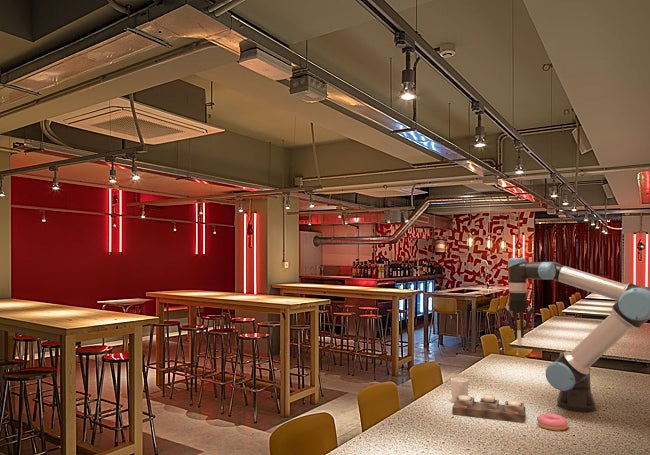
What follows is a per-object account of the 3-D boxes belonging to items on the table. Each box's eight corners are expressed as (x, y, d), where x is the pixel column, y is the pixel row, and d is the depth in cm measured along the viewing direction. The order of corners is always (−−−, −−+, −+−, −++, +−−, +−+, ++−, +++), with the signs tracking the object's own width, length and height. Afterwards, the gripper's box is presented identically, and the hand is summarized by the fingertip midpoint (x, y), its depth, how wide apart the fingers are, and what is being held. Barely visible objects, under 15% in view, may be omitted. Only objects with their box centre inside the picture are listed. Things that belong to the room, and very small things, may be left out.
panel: (525, 414, 202) (525, 402, 203) (524, 423, 192) (524, 410, 192) (457, 406, 214) (456, 394, 214) (452, 414, 203) (452, 402, 203)
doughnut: (566, 434, 180) (566, 422, 180) (534, 428, 186) (534, 417, 186) (569, 425, 189) (569, 414, 190) (539, 420, 195) (538, 410, 195)
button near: (521, 406, 202) (521, 401, 202) (520, 409, 197) (520, 404, 197) (508, 404, 204) (508, 399, 204) (507, 407, 199) (507, 402, 199)
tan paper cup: (469, 404, 217) (469, 381, 217) (451, 403, 218) (450, 381, 219) (468, 399, 224) (467, 377, 225) (450, 398, 226) (449, 377, 226)
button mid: (495, 399, 206) (495, 394, 206) (494, 402, 201) (494, 397, 201) (483, 398, 208) (483, 393, 208) (482, 401, 203) (481, 396, 203)
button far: (471, 400, 210) (471, 395, 210) (469, 403, 205) (469, 398, 205) (459, 399, 212) (459, 394, 212) (457, 402, 207) (457, 397, 207)
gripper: (533, 291, 219) (535, 344, 218) (503, 291, 225) (504, 342, 223) (533, 292, 212) (535, 347, 211) (501, 292, 218) (503, 345, 216)
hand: (519, 345), depth 217 cm, fingers closed
